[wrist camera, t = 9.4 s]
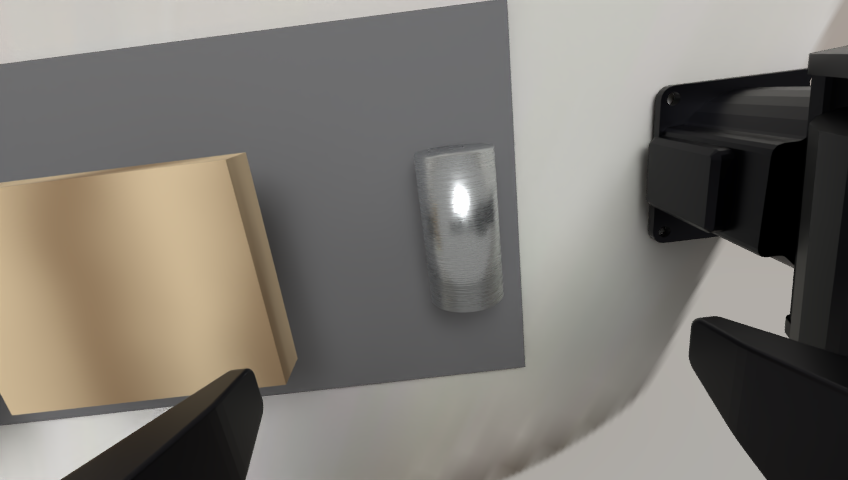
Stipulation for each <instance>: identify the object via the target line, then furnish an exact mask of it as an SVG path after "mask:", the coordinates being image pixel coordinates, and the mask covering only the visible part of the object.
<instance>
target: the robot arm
mask: <svg viewBox="0 0 848 480" xmlns="http://www.w3.org/2000/svg"><path fill="white" fill-rule="evenodd" d="M811 78H812V80H811ZM810 80H811V86H810ZM671 93H673V94H674V97H675V98H674V101H673V102H672V104H670V105H669V104H668V102H667V98H668V96H669V95H670V94H671ZM646 200H647V202H648V203H650V209H649V227H648V232H649V235H650V237H651V238H653V239H654V240H656V241H658V242H661V243H666V242H674V241H683V240H691V239H700V238H709V237H717V236H720V237H722V238H724V239H726V240H728V241H730V242H732V243H734V244H736V245H739V246H741V247H743V248H745V249H747V250H749V251H751V252H753V253H755V254H757V255H759V256H761V257H772V258H774V259H776V260H778V261H780V262H782V263H784V264H787V265H789V266H791V267H793V268H794V276H793V287H792V288H793V289H792V299H791V309H790V315H787V316H786V321H785V333H786V334H787V336H788V337H789V338H785V337H782V336H779V335H776V334H773V333H770V332H766V331H763V330H760V329H757V328H753V327H750V326H747V325H744V324H741V323H738V322H734V321H731V320H728V319H725V318H722V317H717V316H713V317H703V318H697V319H695V320H694V321H693V323H692V326H691V335H690V346H689V360H690V363H691V366H692V368H693V370H694V371H695V373H696V375H697V376H698V378H699V380H700V381H701V383H702V384H703V386H704V388H705V389H706V391H707V392H708V394H709V396H710V398H711V399H712V401H713V403H714V404H715V406H716V407H717V409H718V411H719V412H720V414H721V415H722V417H723V419H724V421H725V422H726V424H727V425H728V427H729V429H730V430H731V431H732V433H733V435H734V436H735V437H736V439H737V440H738V442H739V443H740V445H741V446H742V447H743V449H744V450H745V451H746V453H747V454H748V455H749V457H750V458H751V459H752V461H753V462H754V463H755V465H756V466H757V467H758V469H759V470H760V471H761V473H762V474H763V475H764V477H765V478H766V479H767V480H848V46H843V47H838V48H833V49H828V50H824V51H819V52H814V53H810V54H809V61H808V68H805V69H797V70H789V71H781V72H773V73H765V74H757V75H749V76H741V77H733V78H724V79H716V80H708V81H700V82H692V83H684V84H676V85H669V86H666V87H663V88H662V89H661V90H660V91H659V92H658V94H657V96H656V100H655V118H654V136H653V140H652V141H651V142H650V144H649V157H648V176H647V195H646ZM664 226H665V228H666V229H665V231H664V232H663V233H662V234H660V235H659V230H660V229H661V228H662V227H664ZM262 414H263V400H262V397H261V393H260V390H259V387H258V384H257V380H256V377H255V374H254V372H253V371H252V370H251V369H249V368H244V369H235V370H230V371H228V372H226V373H225V374H223V375H222V376H220V377H219V378H217V379H216V380H214V381H213V382H211V383H209V384H208V385H206V386H205V387H203V388H202V389H200V390H199V391H197V392H195V393H194V394H192V395H191V396H189V397H188V398H186V399H185V400H183V401H182V402H180V403H178V404H177V405H175V406H174V407H172V408H171V409H169V410H168V411H166V412H165V413H163V414H161V415H160V416H158V417H157V418H155V419H154V420H152V421H151V422H149V423H148V424H146V425H144V426H143V427H141V428H140V429H138V430H137V431H135V432H134V433H132V434H131V435H129V436H127V437H126V438H124V439H123V440H121V441H120V442H118V443H117V444H115V445H113V446H112V447H110V448H109V449H107V450H106V451H104V452H103V453H101V454H100V455H98V456H96V457H95V458H93V459H92V460H90V461H89V462H87V463H86V464H84V465H83V466H81V467H79V468H78V469H76V470H75V471H73V472H72V473H70V474H69V475H67V476H66V477H64V478H62V479H61V480H245V479H246V476H247V472H248V468H249V464H250V460H251V457H252V453H253V449H254V445H255V441H256V437H257V434H258V430H259V426H260V422H261V418H262Z"/></svg>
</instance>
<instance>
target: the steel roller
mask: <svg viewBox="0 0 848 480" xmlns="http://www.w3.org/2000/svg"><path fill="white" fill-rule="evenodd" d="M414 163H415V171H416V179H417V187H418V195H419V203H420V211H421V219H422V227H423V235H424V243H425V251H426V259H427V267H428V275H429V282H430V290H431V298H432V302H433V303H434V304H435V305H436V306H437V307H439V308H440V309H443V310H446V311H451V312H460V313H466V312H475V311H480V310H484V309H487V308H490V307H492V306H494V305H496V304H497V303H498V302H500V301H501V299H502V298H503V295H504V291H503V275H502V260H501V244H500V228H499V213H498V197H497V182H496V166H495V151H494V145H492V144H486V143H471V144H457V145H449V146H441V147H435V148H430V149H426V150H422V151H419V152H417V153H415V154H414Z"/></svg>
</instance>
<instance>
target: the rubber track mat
mask: <svg viewBox="0 0 848 480" xmlns="http://www.w3.org/2000/svg"><path fill="white" fill-rule="evenodd" d="M471 143H486V144H492V145H494V151H495V166H496V182H497V197H498V213H499V228H500V244H501V260H502V275H503V291H504V295H503V298H502V299H501V301H500V302H498V303H497V304H496V305H494V306H492V307H490V308H487V309H484V310H480V311H475V312H466V313H460V312H451V311H446V310H443V309H440V308H439V307H437V306H436V305H435V304H434V303H433V302H432V298H431V290H430V282H429V275H428V267H427V259H426V251H425V243H424V235H423V227H422V219H421V211H420V203H419V195H418V187H417V179H416V171H415V163H414V154H415V153H417V152H419V151H422V150H426V149H430V148H435V147H441V146H449V145H457V144H471ZM244 152H246V155H247V159H248V163H249V167H250V171H251V175H252V179H253V183H254V187H255V191H256V195H257V199H258V203H259V207H260V211H261V215H262V219H263V223H264V227H265V231H266V235H267V239H268V243H269V247H270V250H271V254H272V258H273V262H274V266H275V270H276V274H277V278H278V282H279V286H280V290H281V294H282V298H283V302H284V306H285V310H286V314H287V318H288V322H289V326H290V330H291V334H292V338H293V342H294V346H295V350H296V354H297V358H298V359H297V361H296V363H295V366H294V368H293V370H292V372H291V375H290V377H289V379H288V381H287V384H286V385H279V386H270V387H261V388H259V390H260V393H261V396H269V395H278V394H287V393H296V392H305V391H314V390H323V389H332V388H341V387H350V386H359V385H368V384H377V383H386V382H395V381H404V380H413V379H422V378H431V377H440V376H449V375H458V374H467V373H476V372H484V371H493V370H502V369H511V368H520V367H525V355H524V335H523V314H522V294H521V274H520V253H519V233H518V213H517V192H516V172H515V152H514V132H513V111H512V91H511V71H510V50H509V30H508V10H507V0H492V1H484V2H476V3H469V4H461V5H453V6H446V7H438V8H430V9H422V10H415V11H407V12H399V13H392V14H384V15H376V16H369V17H361V18H353V19H345V20H338V21H330V22H322V23H315V24H307V25H299V26H292V27H284V28H276V29H269V30H261V31H253V32H245V33H238V34H230V35H222V36H215V37H207V38H199V39H192V40H184V41H176V42H168V43H161V44H153V45H145V46H138V47H130V48H122V49H115V50H107V51H99V52H91V53H84V54H76V55H68V56H61V57H53V58H45V59H38V60H30V61H22V62H14V63H7V64H0V183H2V182H10V181H18V180H26V179H34V178H42V177H50V176H58V175H66V174H75V173H83V172H91V171H99V170H107V169H115V168H123V167H131V166H139V165H147V164H155V163H163V162H171V161H179V160H188V159H196V158H204V157H212V156H220V155H228V154H236V153H244ZM190 396H191V395H190ZM188 397H189V396H181V397H172V398H163V399H154V400H145V401H136V402H127V403H118V404H109V405H100V406H91V407H82V408H74V409H65V410H56V411H47V412H38V413H29V414H20V415H12V414H11V412H10V411H9V409H8V407H7V405H6V403H5V401H4V399H3V397H2V396H1V394H0V425H9V424H18V423H27V422H36V421H45V420H54V419H63V418H72V417H81V416H90V415H99V414H108V413H117V412H126V411H135V410H144V409H153V408H162V407H171V406H175V405H177V404H178V403H180V402H182V401H183V400H185V399H186V398H188Z"/></svg>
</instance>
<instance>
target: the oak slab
mask: <svg viewBox="0 0 848 480" xmlns="http://www.w3.org/2000/svg"><path fill="white" fill-rule="evenodd" d="M297 359H298V358H297V354H296V350H295V346H294V342H293V338H292V334H291V330H290V326H289V322H288V318H287V314H286V310H285V306H284V302H283V298H282V294H281V290H280V286H279V282H278V278H277V274H276V270H275V266H274V262H273V258H272V254H271V250H270V247H269V243H268V239H267V235H266V231H265V227H264V223H263V219H262V215H261V211H260V207H259V203H258V199H257V195H256V191H255V187H254V183H253V179H252V175H251V171H250V167H249V163H248V159H247V155H246V152H244V153H236V154H228V155H220V156H212V157H204V158H196V159H188V160H179V161H171V162H163V163H155V164H147V165H139V166H131V167H123V168H115V169H107V170H99V171H91V172H83V173H75V174H66V175H58V176H50V177H42V178H34V179H26V180H18V181H10V182H2V183H0V394H1V396H2V397H3V399H4V401H5V403H6V405H7V407H8V409H9V411H10V412H11V414H12V415H20V414H29V413H38V412H47V411H56V410H65V409H74V408H82V407H91V406H100V405H109V404H118V403H127V402H136V401H145V400H154V399H163V398H172V397H181V396H190V395H192V394H194V393H195V392H197V391H199V390H200V389H202V388H203V387H205V386H206V385H208V384H209V383H211V382H213V381H214V380H216V379H217V378H219V377H220V376H222V375H223V374H225V373H226V372H228V371H230V370H235V369H244V368H249V369H251V370H252V371H253V372H254V374H255V377H256V380H257V384H258V387H259V388H261V387H270V386H279V385H286V384H287V381H288V379H289V377H290V375H291V372H292V370H293V368H294V366H295V363H296V361H297Z"/></svg>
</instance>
